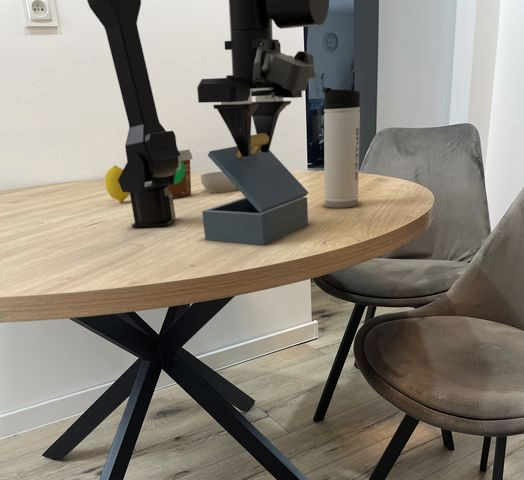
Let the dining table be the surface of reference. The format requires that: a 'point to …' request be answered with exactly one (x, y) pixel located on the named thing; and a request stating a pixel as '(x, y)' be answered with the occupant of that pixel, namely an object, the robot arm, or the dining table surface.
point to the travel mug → (341, 147)
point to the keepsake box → (253, 221)
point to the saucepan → (217, 182)
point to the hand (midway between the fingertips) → (255, 154)
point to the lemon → (115, 184)
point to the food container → (182, 176)
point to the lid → (259, 175)
